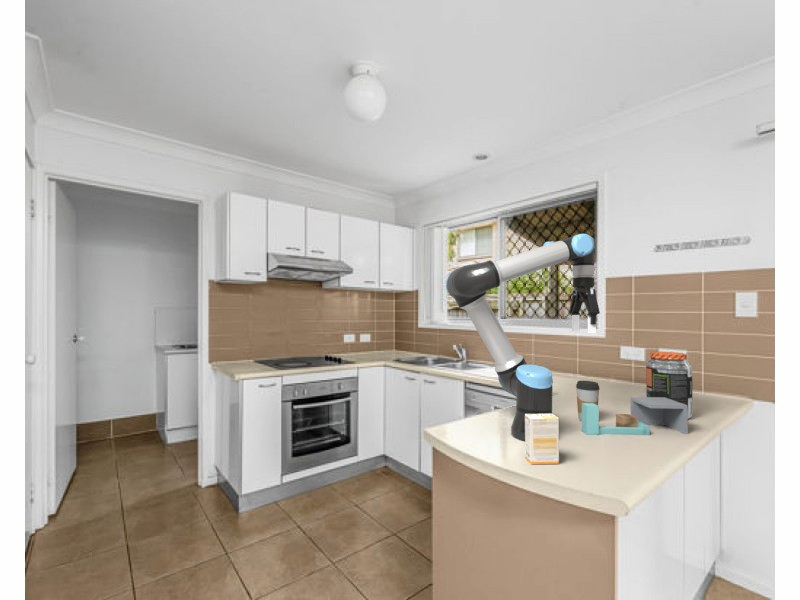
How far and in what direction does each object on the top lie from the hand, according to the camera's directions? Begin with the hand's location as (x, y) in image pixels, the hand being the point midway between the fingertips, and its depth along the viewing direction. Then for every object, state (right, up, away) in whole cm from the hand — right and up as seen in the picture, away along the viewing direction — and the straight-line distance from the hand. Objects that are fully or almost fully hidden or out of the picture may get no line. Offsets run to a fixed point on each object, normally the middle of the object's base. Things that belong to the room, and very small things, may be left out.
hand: (583, 332), depth 148 cm
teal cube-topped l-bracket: (+6, -35, -9) cm, 36 cm away
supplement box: (-30, -34, -38) cm, 59 cm away
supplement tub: (+41, -36, +11) cm, 55 cm away
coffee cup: (+3, -35, +2) cm, 35 cm away
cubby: (+25, -35, -6) cm, 43 cm away
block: (+12, -35, -8) cm, 38 cm away
